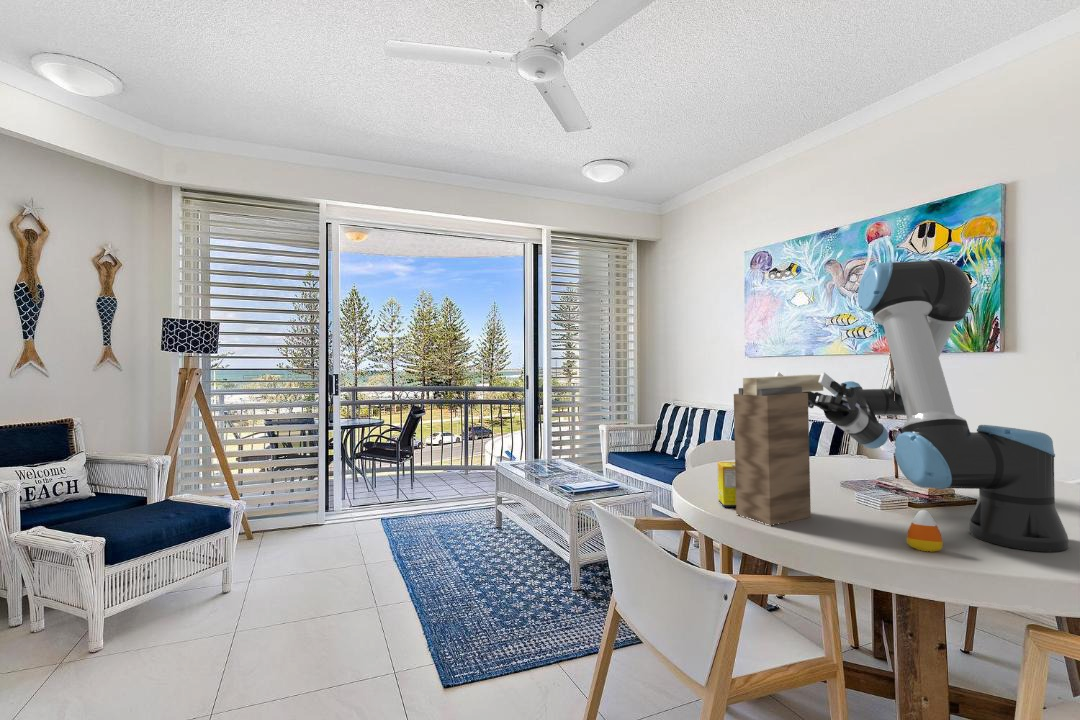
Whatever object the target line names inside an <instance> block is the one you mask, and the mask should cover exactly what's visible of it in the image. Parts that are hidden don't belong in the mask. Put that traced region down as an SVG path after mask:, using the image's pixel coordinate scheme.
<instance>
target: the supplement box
mask: <svg viewBox="0 0 1080 720" xmlns="http://www.w3.org/2000/svg"><path fill="white" fill-rule="evenodd" d="M717 488H718V489H717V491H718V503H719V502H720V503H721V504H722V505H721V504H720V503H719V504H720V505H721V507H722V508H724V507H736V475H735V461H717Z"/></svg>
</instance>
